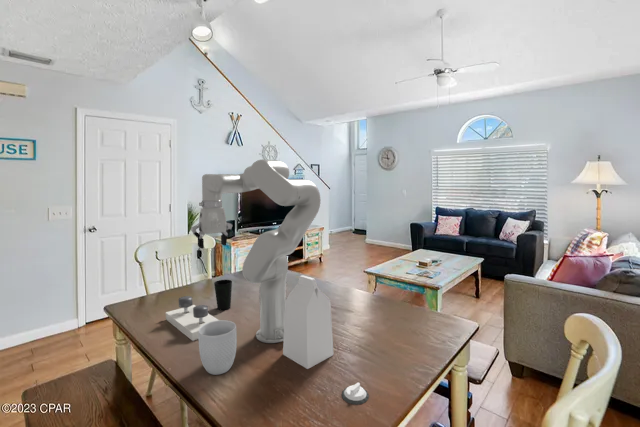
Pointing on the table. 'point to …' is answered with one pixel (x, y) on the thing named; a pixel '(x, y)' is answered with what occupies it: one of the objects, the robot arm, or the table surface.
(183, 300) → the knob far
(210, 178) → the robot arm
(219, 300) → the cup
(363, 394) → the stove knob
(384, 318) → the table surface
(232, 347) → the mug
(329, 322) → the milk
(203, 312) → the knob near
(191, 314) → the mount
